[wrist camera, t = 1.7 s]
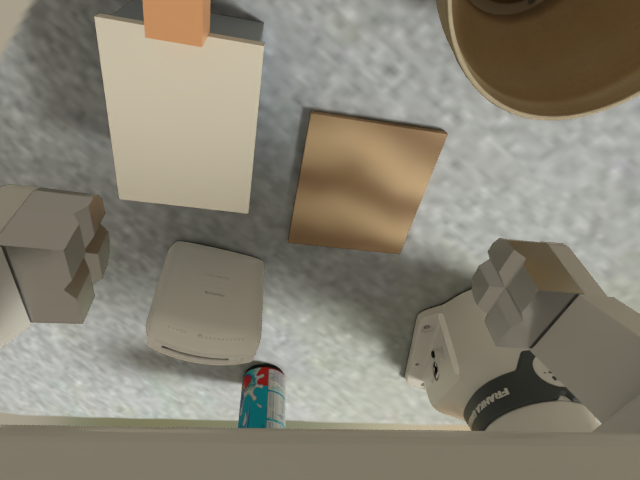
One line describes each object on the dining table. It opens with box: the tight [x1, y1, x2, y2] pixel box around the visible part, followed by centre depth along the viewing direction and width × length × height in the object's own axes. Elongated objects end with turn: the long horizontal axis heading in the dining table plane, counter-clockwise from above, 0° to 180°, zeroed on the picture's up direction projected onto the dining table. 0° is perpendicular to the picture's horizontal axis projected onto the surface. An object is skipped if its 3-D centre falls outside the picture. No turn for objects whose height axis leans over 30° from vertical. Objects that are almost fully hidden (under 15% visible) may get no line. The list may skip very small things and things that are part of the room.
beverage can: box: [238, 365, 286, 428], centre depth 54 cm, size 6×6×15 cm
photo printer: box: [146, 241, 264, 365], centre depth 41 cm, size 10×4×12 cm, turn 69°
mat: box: [288, 111, 448, 254], centre depth 40 cm, size 14×12×1 cm
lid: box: [94, 0, 265, 214], centre depth 28 cm, size 16×10×4 cm, turn 170°
